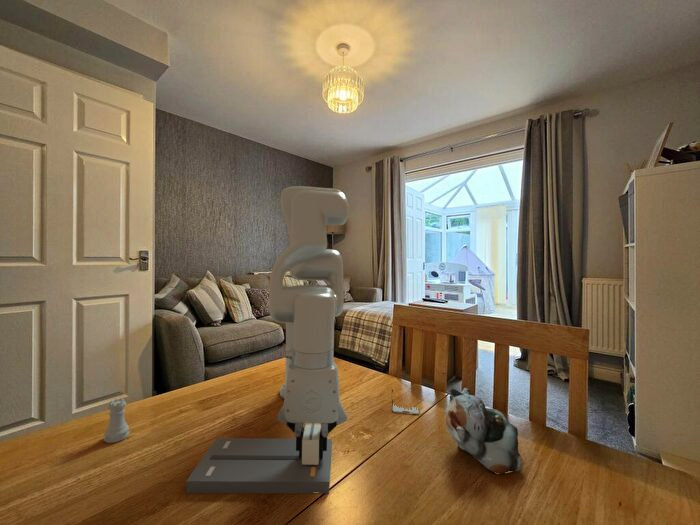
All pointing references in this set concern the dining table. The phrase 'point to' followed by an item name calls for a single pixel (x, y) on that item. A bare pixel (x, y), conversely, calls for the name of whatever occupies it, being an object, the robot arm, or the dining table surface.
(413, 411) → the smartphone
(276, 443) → the grey slotted panel
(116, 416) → the rook chess piece
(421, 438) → the dining table surface
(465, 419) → the lucky cat figurine
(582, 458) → the dining table surface
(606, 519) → the dining table surface
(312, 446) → the fader
